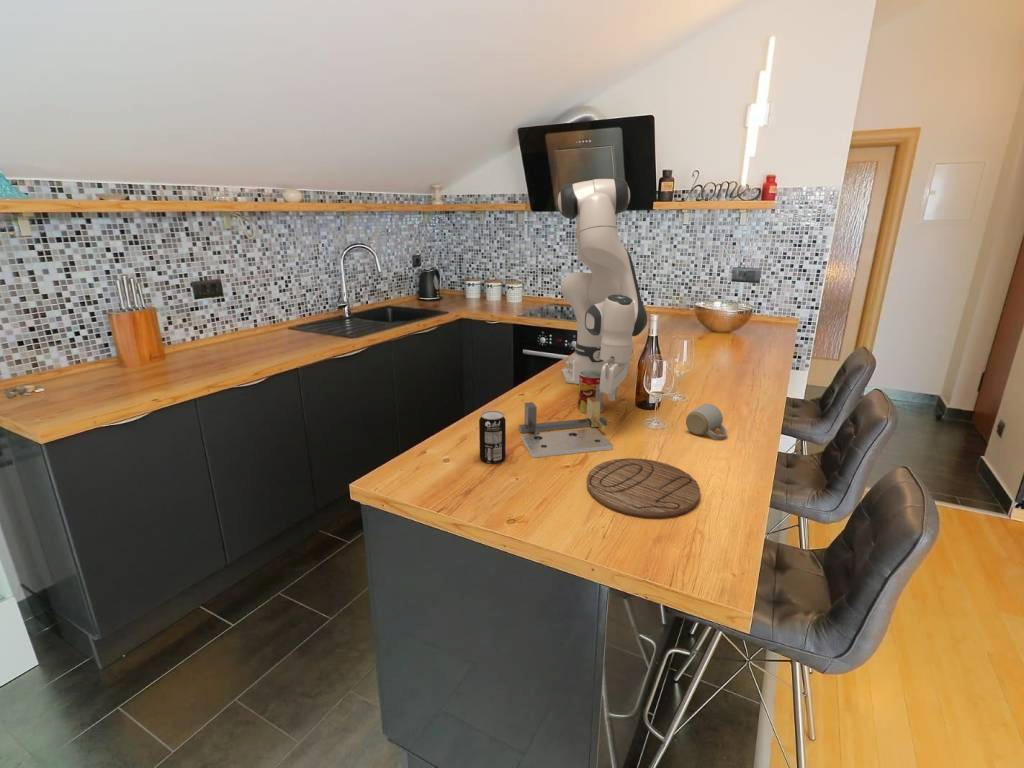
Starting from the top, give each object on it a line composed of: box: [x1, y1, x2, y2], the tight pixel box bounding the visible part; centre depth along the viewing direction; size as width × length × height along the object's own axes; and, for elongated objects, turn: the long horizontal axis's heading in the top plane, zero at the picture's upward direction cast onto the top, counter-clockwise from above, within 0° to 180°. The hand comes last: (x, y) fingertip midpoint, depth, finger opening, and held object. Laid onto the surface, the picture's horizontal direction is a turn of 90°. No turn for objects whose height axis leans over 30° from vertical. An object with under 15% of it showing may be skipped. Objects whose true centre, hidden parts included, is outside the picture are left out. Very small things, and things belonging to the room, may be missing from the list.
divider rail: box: [518, 401, 608, 435], centre depth 152 cm, size 10×26×8 cm, turn 103°
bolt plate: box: [520, 427, 614, 459], centre depth 145 cm, size 12×22×1 cm, turn 103°
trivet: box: [586, 457, 701, 520], centre depth 122 cm, size 25×25×2 cm
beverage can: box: [478, 410, 507, 464], centre depth 135 cm, size 7×7×12 cm
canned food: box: [577, 370, 605, 415], centre depth 168 cm, size 8×8×12 cm
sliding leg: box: [585, 397, 606, 430], centre depth 154 cm, size 10×2×8 cm, turn 13°
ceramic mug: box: [685, 403, 728, 440], centre depth 151 cm, size 11×8×8 cm
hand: (612, 399), depth 157 cm, fingers closed
